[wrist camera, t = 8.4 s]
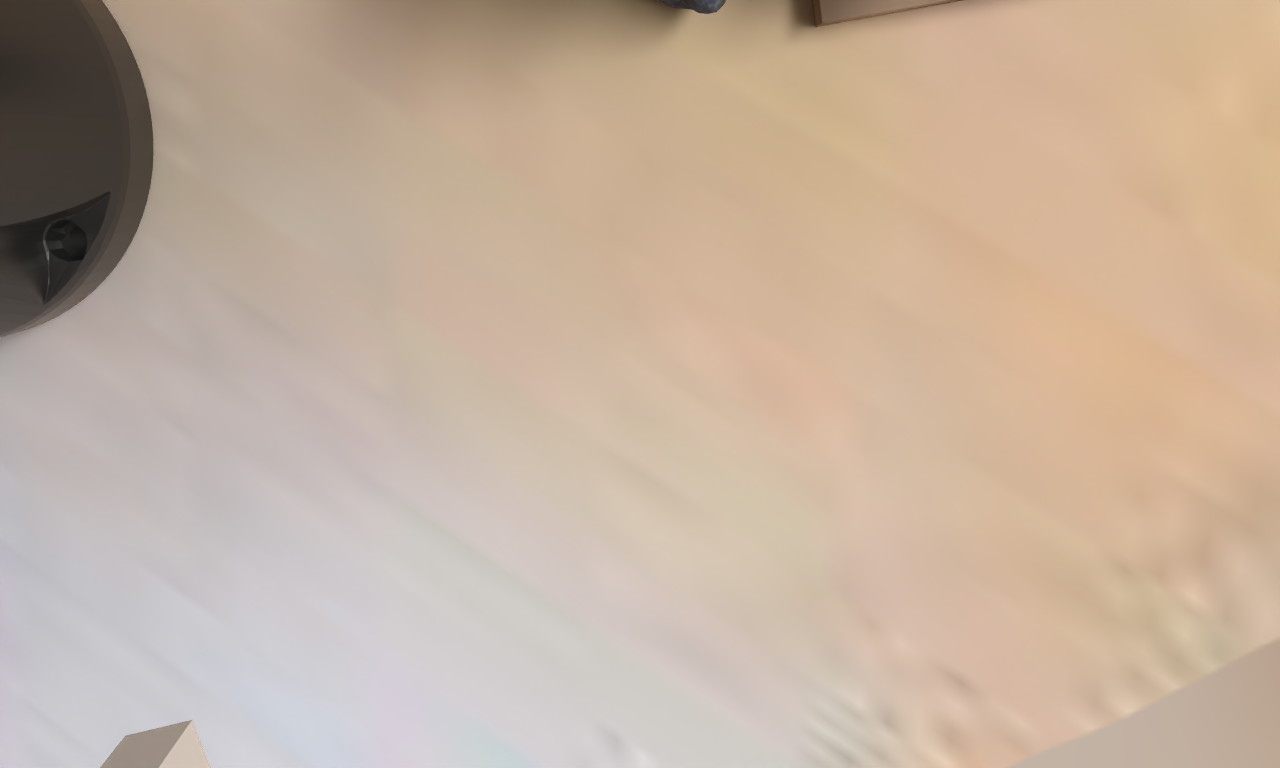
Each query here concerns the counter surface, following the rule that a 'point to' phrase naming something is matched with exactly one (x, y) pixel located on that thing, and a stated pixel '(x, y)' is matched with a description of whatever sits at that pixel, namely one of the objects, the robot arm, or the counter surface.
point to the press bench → (864, 8)
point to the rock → (697, 5)
